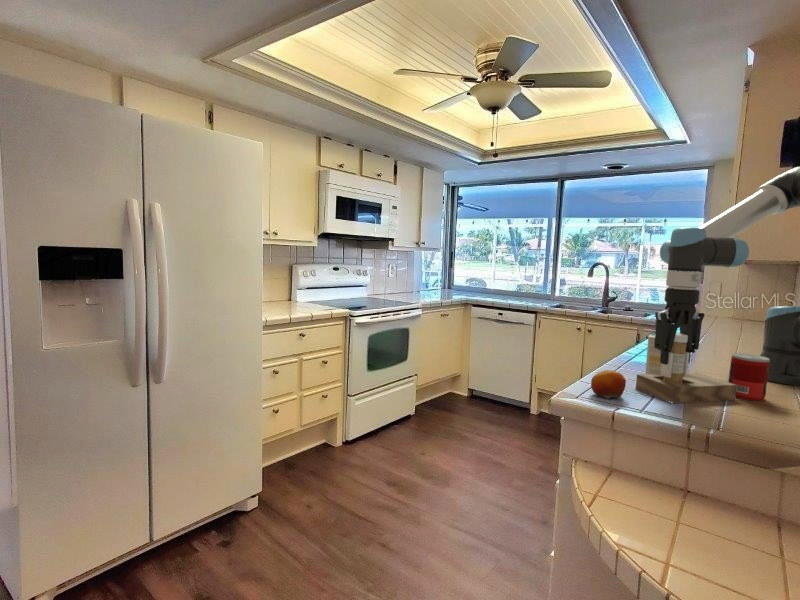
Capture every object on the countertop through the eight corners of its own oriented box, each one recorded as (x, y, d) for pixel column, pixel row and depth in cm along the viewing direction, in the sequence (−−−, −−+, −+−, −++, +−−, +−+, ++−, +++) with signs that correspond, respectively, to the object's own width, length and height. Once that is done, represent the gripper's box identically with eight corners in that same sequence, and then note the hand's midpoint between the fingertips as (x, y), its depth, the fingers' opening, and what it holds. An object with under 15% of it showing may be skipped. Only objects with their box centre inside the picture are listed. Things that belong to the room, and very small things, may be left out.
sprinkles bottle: (665, 380, 121) (669, 331, 119) (684, 384, 117) (689, 334, 116) (660, 383, 117) (665, 333, 116) (680, 387, 114) (686, 336, 113)
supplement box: (677, 380, 132) (681, 337, 131) (676, 384, 128) (681, 339, 127) (645, 375, 137) (649, 333, 135) (644, 379, 133) (648, 336, 131)
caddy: (694, 386, 127) (696, 372, 126) (735, 399, 115) (736, 384, 115) (635, 388, 122) (636, 374, 122) (671, 403, 110) (673, 387, 110)
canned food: (771, 402, 114) (776, 360, 113) (736, 399, 116) (741, 358, 114) (754, 393, 121) (759, 354, 120) (721, 390, 123) (726, 352, 122)
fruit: (611, 399, 107) (601, 367, 111) (590, 405, 114) (582, 375, 118) (638, 397, 110) (628, 366, 113) (617, 404, 116) (608, 374, 120)
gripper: (666, 288, 109) (657, 380, 111) (723, 290, 113) (713, 379, 116) (643, 286, 116) (634, 372, 119) (697, 287, 120) (688, 371, 123)
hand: (673, 375), depth 117 cm, fingers closed on sprinkles bottle, 4 cm apart
